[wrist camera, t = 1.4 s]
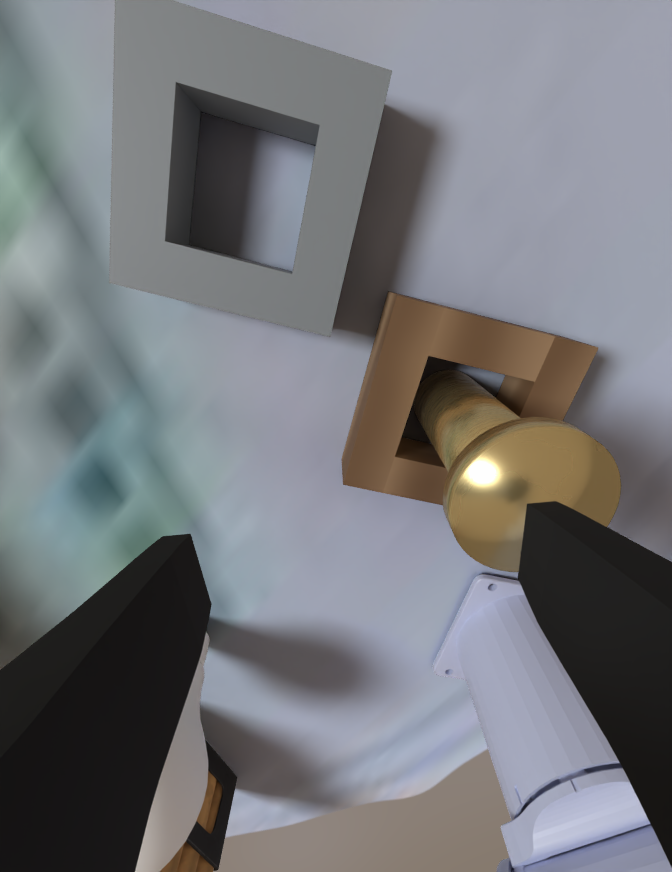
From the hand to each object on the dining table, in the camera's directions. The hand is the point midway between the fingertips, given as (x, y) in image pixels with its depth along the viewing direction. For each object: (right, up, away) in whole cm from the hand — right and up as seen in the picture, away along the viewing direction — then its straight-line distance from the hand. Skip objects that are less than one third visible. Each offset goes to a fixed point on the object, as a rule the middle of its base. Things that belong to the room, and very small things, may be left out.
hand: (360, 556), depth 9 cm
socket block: (-4, +12, +7) cm, 14 cm away
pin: (+5, +4, +10) cm, 12 cm away
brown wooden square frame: (+5, +4, +10) cm, 12 cm away
